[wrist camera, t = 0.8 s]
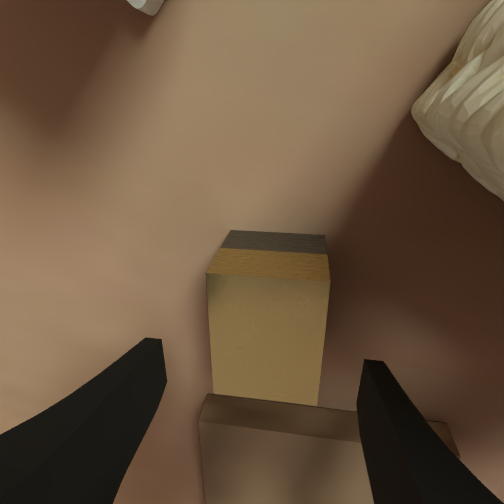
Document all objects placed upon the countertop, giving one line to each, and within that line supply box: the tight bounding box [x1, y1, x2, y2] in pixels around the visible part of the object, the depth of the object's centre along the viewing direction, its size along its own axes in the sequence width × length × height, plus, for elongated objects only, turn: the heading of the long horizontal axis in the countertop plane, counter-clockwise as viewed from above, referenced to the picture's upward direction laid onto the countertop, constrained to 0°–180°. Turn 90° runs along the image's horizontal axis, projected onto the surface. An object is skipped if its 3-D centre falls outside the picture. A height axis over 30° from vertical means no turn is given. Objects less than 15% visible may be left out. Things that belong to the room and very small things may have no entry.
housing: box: [206, 230, 331, 406], centre depth 16 cm, size 4×6×5 cm
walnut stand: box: [198, 394, 460, 504], centre depth 22 cm, size 14×14×2 cm
